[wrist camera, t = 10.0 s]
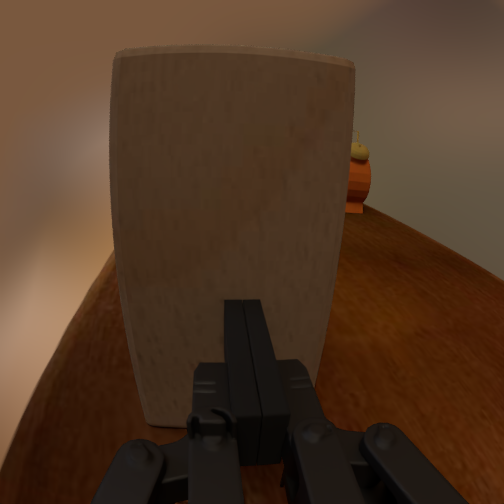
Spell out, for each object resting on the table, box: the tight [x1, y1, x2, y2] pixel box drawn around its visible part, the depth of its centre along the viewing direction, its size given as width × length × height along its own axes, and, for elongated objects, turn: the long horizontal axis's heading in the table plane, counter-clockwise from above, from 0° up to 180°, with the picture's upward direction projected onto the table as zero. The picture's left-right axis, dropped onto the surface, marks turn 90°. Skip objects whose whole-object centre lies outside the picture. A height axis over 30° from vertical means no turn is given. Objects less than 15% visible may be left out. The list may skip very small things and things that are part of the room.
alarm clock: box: [345, 131, 371, 214], centre depth 77 cm, size 13×6×20 cm, turn 3°
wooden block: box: [109, 45, 355, 428], centre depth 18 cm, size 10×10×20 cm
